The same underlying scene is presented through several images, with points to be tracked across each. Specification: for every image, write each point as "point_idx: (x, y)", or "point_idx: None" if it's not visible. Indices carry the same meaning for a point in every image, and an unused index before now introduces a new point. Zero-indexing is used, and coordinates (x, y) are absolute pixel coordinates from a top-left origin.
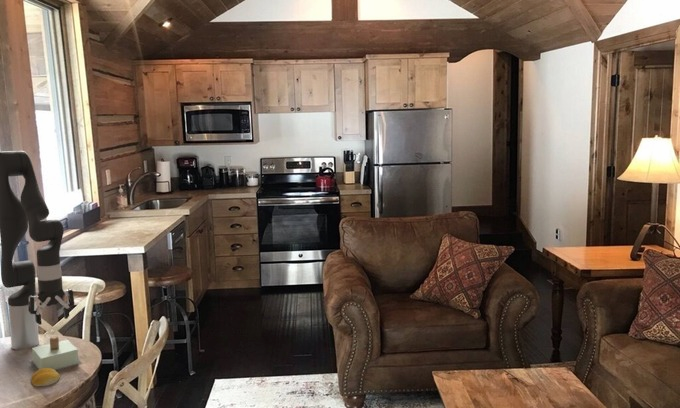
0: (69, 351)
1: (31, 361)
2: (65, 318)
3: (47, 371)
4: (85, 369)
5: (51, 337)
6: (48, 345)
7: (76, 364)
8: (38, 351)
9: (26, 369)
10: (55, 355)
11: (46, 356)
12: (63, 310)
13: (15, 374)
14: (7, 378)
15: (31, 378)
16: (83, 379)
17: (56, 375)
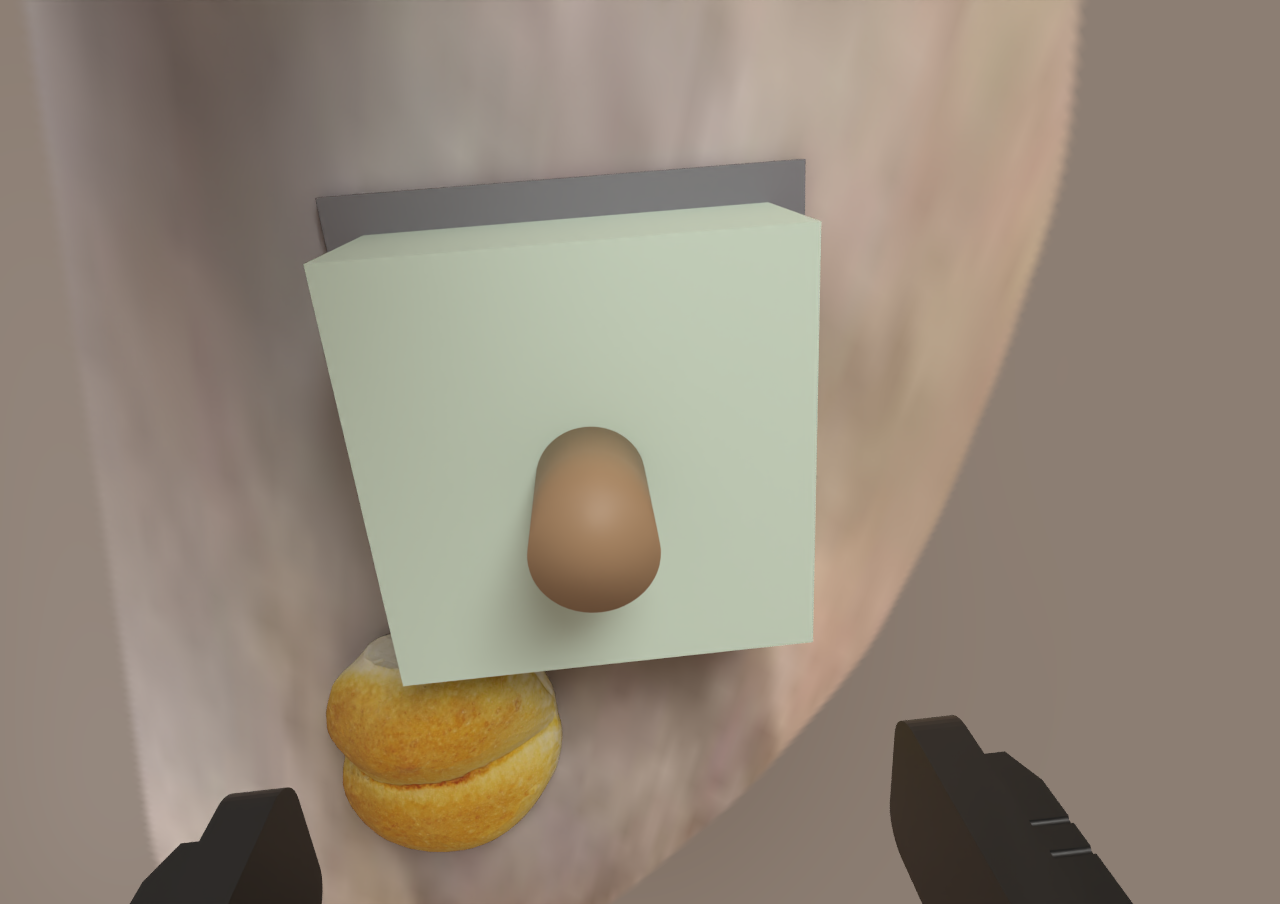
0: (720, 651)
1: (346, 206)
2: (896, 825)
3: (459, 775)
4: (783, 669)
5: (562, 513)
6: (535, 305)
7: None
8: (386, 458)
9: (295, 376)
10: (562, 663)
11: (465, 657)
12: (1004, 896)
13: (188, 441)
14: (117, 494)
15: (328, 732)
16: (712, 819)
17: (527, 812)
